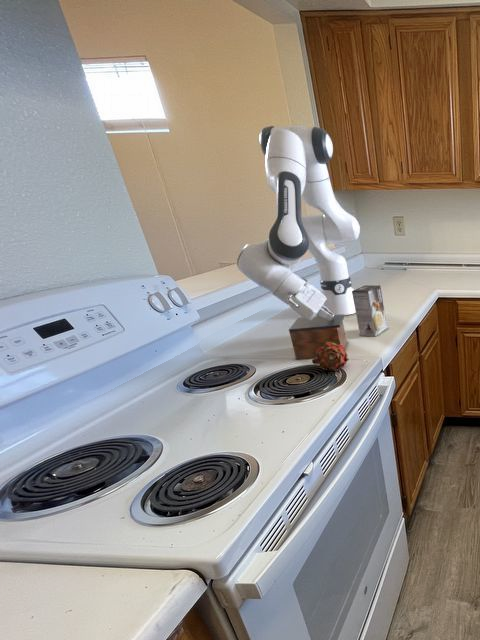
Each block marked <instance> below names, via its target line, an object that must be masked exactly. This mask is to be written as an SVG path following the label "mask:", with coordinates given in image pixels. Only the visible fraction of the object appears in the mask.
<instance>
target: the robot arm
mask: <svg viewBox="0 0 480 640" xmlns="http://www.w3.org/2000/svg"><path fill="white" fill-rule="evenodd" d="M259 145H260V149H261V152H262V153H263V156H264V157H265V177H266V182H267V186H268V188H269V189H270V190H271V191H272V192H274V193H275V195H276V219H275V220H274V221H275V222H274V223H273V225H272V226H271V228H270V230H269V233H268V239H266V240H263V241H261V242H260V241H259V242H257V243H251V244H250V243H247V244H246V245H244V246H243V248H242V249H241V251H240V253H239V255H238V257H237V260H236V266H237V269H238V270H239V271H240V272H241V273H242V274H243V275H244V276H245V277H247V278H248V279H250V280H251V281H252V282H254V283H255V284H256V285H258V286H259V287H262V288H264V289H266V290H268V291H269V293H270V294H271V295H273V296H274V297H276V298H277V299H278V300H280V301H281V302H283V303H284V304H286V305H287V306H289V307H290V308H291V309H292V310H293V311H294V312H295V313H297V314H298V315H299V316H301V318H305V319H307V320H310V321H311V320H312V319H313V318H314V317H316V316H321V317H323V318H326V319H327V320H329V321H331V320H332V319H333V317H334V315H341V314H344V316H348V315H353V314H356V311H355V305H354V300H353V294H352V291H353V290H356V289H355V288H353V287H352V286H353V285H352V284H353V283H352V279H351V277H350V274H349V269H348V264H347V260H346V258H345V257H344V256H343V255H342V254H340V253H338V252H335V251H334V250H333V251H332V249H330V248H329V247H328V245H329V244H330V245H333V244H347V243H350V242H354V241H357V240H358V238H359V236H360V235H361V233H360V232H361V226H360V222H359V221H358V220H357V218H356V216H354V215H353V214H351V213H349V212H348V211H347V210H345V209H344V208H343V207H342V206H341V205H340V204H339V202H338V201H337V198H336V197H335V192H334V190H333V187H332V182H331V178H330V173H329V170H328V166H327V163H329V162H330V161H331V160H332V159H333V153H334V145H333V141H332V138H331V136H330V134H329V133H328V131H326V129H324V128H321V127H318V126H312V127H311V126H305V125H295V124H294V125H282V126H280V125H279V126H274V125H270V126H266V127H263V128H262V129H261V131H260V133H259ZM302 200H303V201H304V202H305V204H307V205H308V206H309V207H311V208H314V209H317V210H318V211H319V212H321V213H322V214H304V215H302ZM307 251H308V252H309V253H310V254H311V255H312V257H313V258H314V261H315V263H316V266H317V270H318V274H319V278H320V280H319V286H320V288H321V291H320V290H319V289H318V288H316V287H315V286H314V285H313V284H311V283H309V280H308V278H306V277H305V276H299V275H298V274H296V273H294V271H292V269H293V268H295V267H296V266H298V265H299V264H300V262H301V261H302V259H303V257H304V255H305V254H306V252H307Z"/></svg>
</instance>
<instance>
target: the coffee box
mask: <svg viewBox="0 0 480 640" xmlns="http://www.w3.org/2000/svg"><path fill="white" fill-rule="evenodd" d="M352 294H353V300H354V305H355V311H356V313H355V315H356V321H357V326H358V327H357V328H358V331H359V336H362V337H364V336H365V337H377V336H378V335H380V334H381V333H382V332H384V331H385V330H387V329H388V326H387V319H386V313H385V306H384V300H383V294H382V288H381V285H379V284H377V285H362V286H361V287H358V288H356V289H355V290H353V291H352Z"/></svg>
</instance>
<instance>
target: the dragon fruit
mask: <svg viewBox="0 0 480 640" xmlns="http://www.w3.org/2000/svg"><path fill="white" fill-rule="evenodd" d="M345 348H346V347H345ZM345 348H344V347H343V346H341V345H340V344H338V345H337V344H335V343H333V342H327V343H326V344H325V345H324V346H323V347H319V348H318V350H317V351H316V354H315V355H314V358H311V363H312V364H313V365H319V367H320V369H321V368H324V369H322V370H324V371H326V372H327V371H331V372H339V371H340V370H341V369H343V368H344V367H345V365H347V362H348V361H349V360H350V359H349V357H348V354H347V352H346V349H345ZM316 355H317V356H316ZM315 356H316V357H315ZM326 368H327V369H326Z"/></svg>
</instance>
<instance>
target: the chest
mask: <svg viewBox="0 0 480 640" xmlns="http://www.w3.org/2000/svg"><path fill="white" fill-rule="evenodd" d="M289 336H290V340H291V345H292V348H293V352H294V356H295V359H296V360H304V359H315V358H316V356H317V355H316V356H315V357H314V355H315V354H316V351H317V350H318V348H319V347H323V346H324V345H325V344H326V343H327V342H333V343H335V344H337V345H338V344H340V345H341V346H343V347H344V348H346V346H347V342H348V340H347V336H346V331H345V325H344V320H343V321H342V323H341V326H340V327H339V328H328V329H317V330H306V331H294V332H289Z"/></svg>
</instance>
